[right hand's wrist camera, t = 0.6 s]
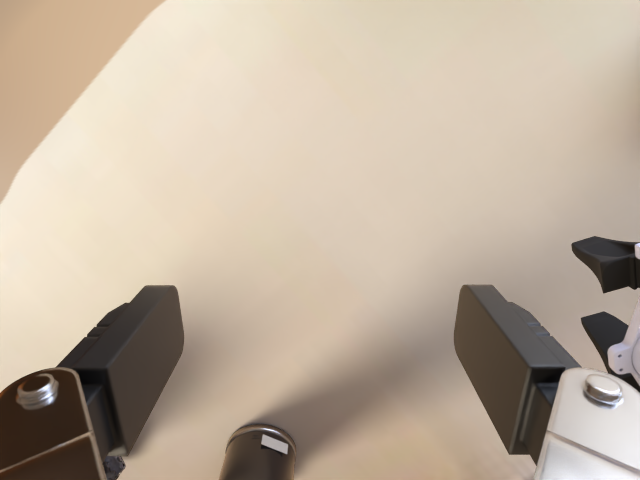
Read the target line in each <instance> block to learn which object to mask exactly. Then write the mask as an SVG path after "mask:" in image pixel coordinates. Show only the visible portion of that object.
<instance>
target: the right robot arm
mask: <svg viewBox="0 0 640 480" xmlns="http://www.w3.org/2000/svg"><path fill="white" fill-rule="evenodd" d="M183 345H184V331H183V324H182V317H181V310H180V303H179V296H178V291H177V289H176V287H175V286H173V285H147V286H145V287H144V288H143V289H142V290H141V291H140V292H139V293H138V294H137V295H136V296H135V297H134V299H133V300H132V301H131V302H130V303H124V304H123V305H121V306H119V307H117V308H116V309H114V310H112V311H111V312H109V313H108V314H107V315H106V316H105V317H104V318H103V319H102V320H101V321H100V322H99V323H98V324H97V327H94V328H93V329H92V330H91V331H90V332H89V333H88V334H87V337H84V338H83V339H82V341H81V342H80V343H79V344H78V345H77V346H76V347H75V348H74V349H73V350H72V351H71V352H70V353H69V354H68V355H67V356H66V357H65V358H64V359H63V360H62V361H61V362H60V363H59V364H58V365H57V367H56V368H49V369H44V370H41V371H37V372H34V373H32V374H29V375H27V376H25V377H22V378H20V379H19V380H17V381H15V382H14V383H12V384H10V385H9V386H8V387H6V388H5V389H4V390H3V391H2V392H1V393H0V480H107V478H106V475H105V471H104V467H103V462H104V460H105V458H106V456H128V455H129V453H130V451H131V449H132V447H133V445H134V443H135V441H136V439H137V438H138V436H139V434H140V432H141V430H142V428H143V426H144V424H145V422H146V421H147V419H148V417H149V415H150V413H151V411H152V409H153V407H154V405H155V404H156V402H157V400H158V398H159V396H160V394H161V392H162V390H163V388H164V387H165V385H166V383H167V381H168V379H169V377H170V375H171V373H172V371H173V370H174V368H175V366H176V364H177V362H178V360H179V358H180V356H181V354H182V350H183ZM454 345H455V350H456V353H457V356H458V358H459V360H460V361H461V363H462V365H463V367H464V369H465V371H466V373H467V375H468V377H469V379H470V381H471V383H472V384H473V386H474V388H475V390H476V392H477V394H478V396H479V398H480V400H481V402H482V404H483V405H484V407H485V409H486V411H487V413H488V415H489V417H490V419H491V421H492V423H493V425H494V426H495V428H496V430H497V432H498V434H499V436H500V438H501V440H502V442H503V444H504V446H505V448H506V449H507V451H508V453H509V455H530V456H531V457H532V459H533V461H534V462H535V464H536V466H537V467H536V471H535V475H534V478H533V480H640V393H639V392H638V391H637V390H636V389H635V388H634V387H632V386H631V385H630V384H628V383H626V382H625V381H623V380H621V379H620V378H618V377H615V376H613V375H611V374H608V373H606V372H603V371H599V370H596V369H591V368H582V367H581V366H580V365H579V364H578V363H577V362H576V361H575V360H574V359H573V357H572V356H571V355H570V354H569V353H568V352H567V351H566V350H565V349H564V348H563V347H562V346H561V345H560V344H559V343H558V342H557V341H556V340H555V339H554V338H553V336H550V333H549V332H548V331H547V330H546V329H545V328H544V327H543V326H541V325H540V323H539V322H538V321H537V320H536V319H535V318H534V317H533V316H532V314H531V313H530V312H528V311H526V310H525V309H523V308H521V307H520V306H518V305H516V304H514V303H513V302H507V301H506V300H505V299H504V297H503V296H502V295H501V294H500V293H499V292H498V291H497V290H496V288H495V287H494V286H492V285H463V286H462V288H461V290H460V295H459V302H458V309H457V316H456V323H455V330H454ZM295 460H296V446H295V443H294V441H293V440H292V438H291V437H290V436H289V435H288V434H287V433H285V432H284V431H282V430H281V429H279V428H276V427H273V426H270V425H262V424H256V425H249V426H246V427H243V428H241V429H239V430H238V431H236V432H235V433H234V434H233V435H232V436H231V437H230V439H229V441H228V444H227V448H226V455H225V458H224V462H223V466H222V469H221V473H220V477H219V480H293V478H294V463H295Z"/></svg>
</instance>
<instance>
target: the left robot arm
mask: <svg viewBox="0 0 640 480" xmlns="http://www.w3.org/2000/svg"><path fill="white" fill-rule="evenodd" d="M572 251H573V253H574V254H575V255H576V257H577V258H579V259H580V260H581V261H582V262H583V263H584V264H586V265H587V266H588V267H589V268H590V269H591V270H592V271H593V273H594V274H595V275H596V277H597V278H598V280H599V282H600V284H601V287H602V290H603V293H607V292H610V291H614V290H617V289H621V288H624V287H628V286H629V287H631V288H632V289H634V290H635V289H637V288H640V242H623V241H616V240H610V239H605V238H601V237H596V236H594V237H590V238H587V239H584V240H580V241H577V242H574V243H572ZM581 321H582V325H583V327H584V329H585V331H586V332H587V334H588V336H589V337H590V339H591V341H592V342H593V344H594V345H595V347H596V349H597V350H598V352H599V354H600V356H601V358H602V360H603V362H604V364H605V366H606V369H607V371H608V374H611V375H613V376H615V377H618V378H620V379H621V380H623V381H625V382H626V383H628V384H630V385H631V386H632V387H634V388H635V389H636V390H637V391H638V392H639V393H640V296H639V298H638V301H637V304H636V307H635V310H634V313H633V315H632V318H631V321H630V324H629V326H628V325H627V324H625V323H624V322H622V321H621V320H619V319H618V318H616V317H614V316H612V315H611V314H608V313H606V312H601V313H597V314H593V315H590V316H586V317H582V318H581Z"/></svg>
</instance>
